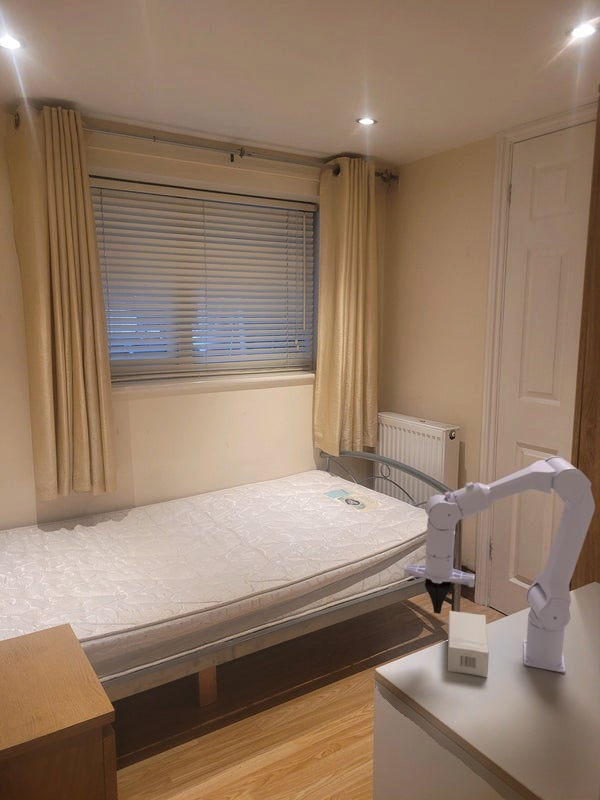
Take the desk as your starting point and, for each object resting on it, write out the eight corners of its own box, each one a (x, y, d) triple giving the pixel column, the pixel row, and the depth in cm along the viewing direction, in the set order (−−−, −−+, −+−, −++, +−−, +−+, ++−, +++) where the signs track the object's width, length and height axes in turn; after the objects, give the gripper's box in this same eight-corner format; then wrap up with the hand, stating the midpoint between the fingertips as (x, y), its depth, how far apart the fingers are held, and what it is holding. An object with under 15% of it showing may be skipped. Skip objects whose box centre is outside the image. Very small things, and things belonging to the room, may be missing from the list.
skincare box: (487, 678, 119) (486, 638, 133) (489, 651, 118) (487, 614, 132) (445, 671, 121) (448, 632, 135) (446, 645, 120) (449, 608, 134)
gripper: (401, 555, 121) (400, 614, 124) (474, 565, 116) (471, 627, 119) (407, 541, 128) (406, 598, 130) (476, 550, 123) (473, 609, 125)
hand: (437, 611), depth 125 cm, fingers closed
